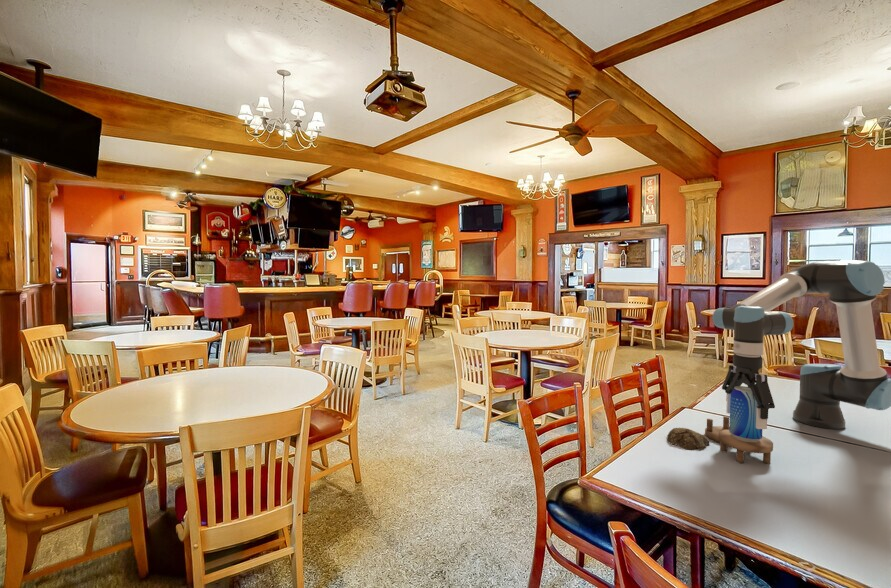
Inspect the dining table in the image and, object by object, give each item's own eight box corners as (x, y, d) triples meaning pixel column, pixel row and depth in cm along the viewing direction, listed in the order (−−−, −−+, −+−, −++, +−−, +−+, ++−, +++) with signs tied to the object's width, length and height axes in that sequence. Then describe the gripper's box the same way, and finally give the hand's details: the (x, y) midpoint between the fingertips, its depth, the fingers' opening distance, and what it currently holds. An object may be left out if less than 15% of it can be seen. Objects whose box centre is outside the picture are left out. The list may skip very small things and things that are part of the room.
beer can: (768, 444, 122) (770, 393, 122) (737, 442, 124) (739, 391, 123) (752, 434, 131) (754, 386, 130) (724, 432, 132) (725, 384, 131)
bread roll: (672, 433, 147) (673, 419, 147) (712, 443, 139) (712, 429, 138) (661, 443, 138) (661, 429, 138) (702, 454, 130) (702, 439, 129)
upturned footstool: (724, 429, 150) (724, 413, 150) (763, 444, 137) (763, 427, 137) (695, 433, 146) (696, 417, 146) (733, 449, 133) (733, 431, 132)
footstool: (751, 447, 134) (751, 429, 134) (784, 467, 120) (785, 447, 120) (708, 446, 135) (709, 429, 135) (736, 466, 121) (737, 447, 121)
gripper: (711, 347, 139) (709, 407, 140) (764, 363, 114) (762, 435, 115) (733, 347, 138) (731, 407, 139) (792, 363, 114) (789, 436, 114)
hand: (745, 420), depth 127 cm, fingers open, 13 cm apart
